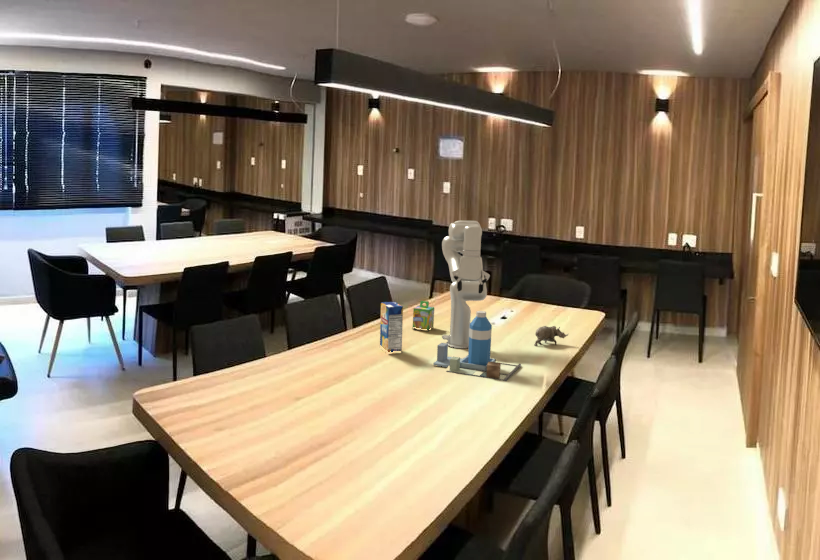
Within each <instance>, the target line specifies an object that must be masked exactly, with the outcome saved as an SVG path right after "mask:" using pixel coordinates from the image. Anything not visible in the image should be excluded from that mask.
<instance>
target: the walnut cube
mask: <svg viewBox="0 0 820 560" xmlns="http://www.w3.org/2000/svg"><path fill="white" fill-rule="evenodd" d="M501 363H502V362H499V361H498V362H497V361H495V362H488V364H487V376H486V377H493V378H499V376H500V373H501V367H502V366H501V365H502V364H501Z"/></svg>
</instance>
